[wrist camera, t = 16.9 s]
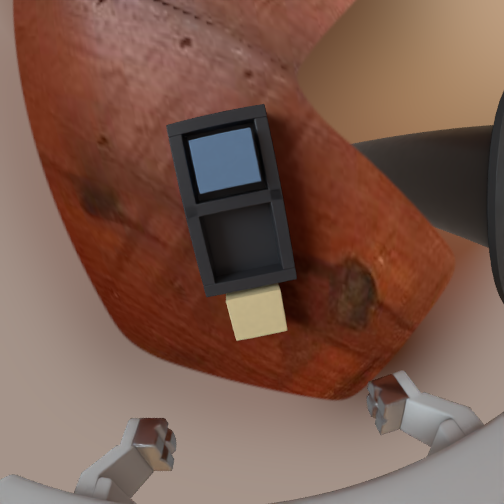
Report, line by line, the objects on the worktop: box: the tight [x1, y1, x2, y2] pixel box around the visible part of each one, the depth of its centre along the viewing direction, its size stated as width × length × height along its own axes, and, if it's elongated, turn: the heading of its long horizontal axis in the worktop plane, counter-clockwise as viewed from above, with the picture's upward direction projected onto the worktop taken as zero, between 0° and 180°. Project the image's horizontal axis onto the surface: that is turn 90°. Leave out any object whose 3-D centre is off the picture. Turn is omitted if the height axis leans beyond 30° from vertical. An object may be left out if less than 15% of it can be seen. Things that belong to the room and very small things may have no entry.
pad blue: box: [189, 128, 261, 194], centre depth 22 cm, size 4×4×3 cm
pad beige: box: [226, 283, 287, 341], centre depth 26 cm, size 4×4×3 cm
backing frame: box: [166, 104, 297, 297], centre depth 23 cm, size 8×14×3 cm, turn 11°
